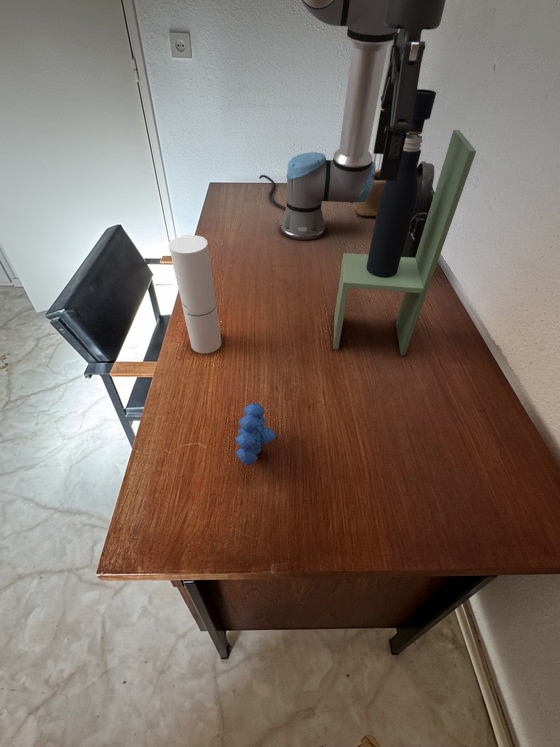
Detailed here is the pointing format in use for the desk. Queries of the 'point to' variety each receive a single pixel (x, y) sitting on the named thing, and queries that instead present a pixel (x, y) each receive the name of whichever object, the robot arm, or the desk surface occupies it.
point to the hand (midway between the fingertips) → (383, 166)
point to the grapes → (252, 434)
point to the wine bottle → (399, 197)
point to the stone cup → (372, 198)
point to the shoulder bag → (420, 208)
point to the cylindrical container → (196, 291)
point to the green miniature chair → (420, 269)
